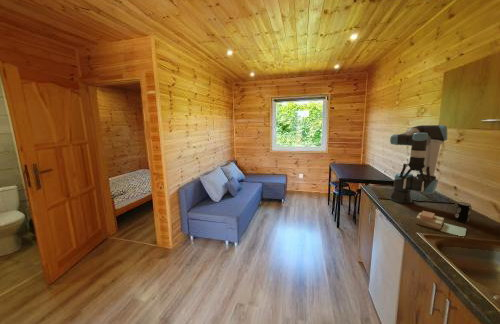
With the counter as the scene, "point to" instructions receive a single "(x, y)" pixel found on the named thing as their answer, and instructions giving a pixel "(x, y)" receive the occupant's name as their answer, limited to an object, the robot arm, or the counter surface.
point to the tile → (427, 215)
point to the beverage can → (463, 212)
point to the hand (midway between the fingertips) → (413, 189)
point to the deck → (430, 222)
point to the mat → (453, 229)
